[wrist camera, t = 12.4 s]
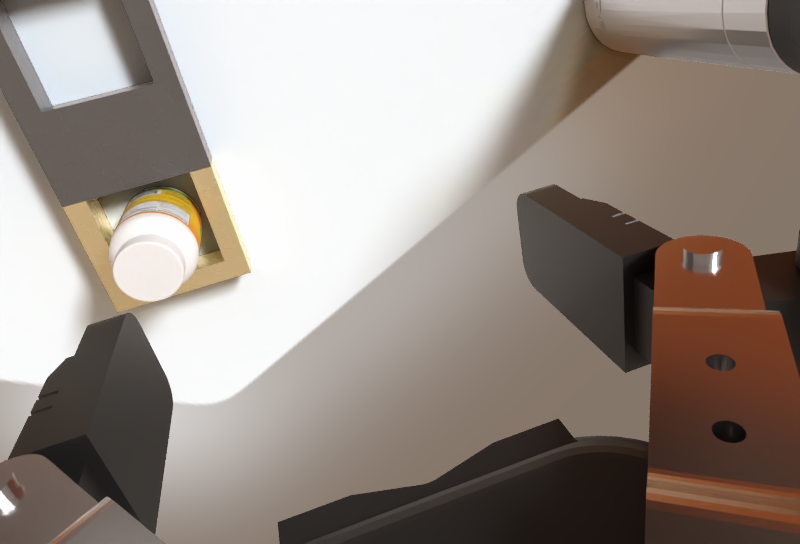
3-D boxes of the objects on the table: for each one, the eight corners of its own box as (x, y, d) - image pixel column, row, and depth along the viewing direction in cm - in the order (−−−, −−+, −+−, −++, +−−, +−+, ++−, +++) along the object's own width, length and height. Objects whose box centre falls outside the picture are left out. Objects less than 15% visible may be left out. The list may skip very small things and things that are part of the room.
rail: (124, -78, 35) (117, -83, 33) (249, 259, 46) (250, 272, 44) (-50, -42, 33) (-69, -45, 31) (123, 297, 44) (117, 312, 42)
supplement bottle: (186, 263, 44) (176, 324, 36) (114, 236, 42) (85, 295, 34) (214, 203, 43) (210, 252, 35) (141, 172, 41) (118, 216, 32)
